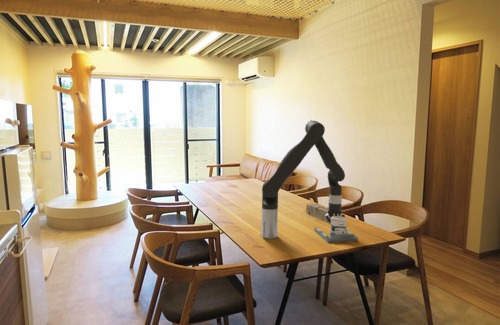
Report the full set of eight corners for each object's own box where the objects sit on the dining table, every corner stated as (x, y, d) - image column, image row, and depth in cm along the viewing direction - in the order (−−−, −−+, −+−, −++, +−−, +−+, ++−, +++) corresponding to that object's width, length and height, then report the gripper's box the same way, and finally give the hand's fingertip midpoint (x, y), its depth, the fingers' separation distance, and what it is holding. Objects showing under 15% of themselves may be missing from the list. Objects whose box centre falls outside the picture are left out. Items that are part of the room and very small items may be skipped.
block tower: (305, 214, 248) (330, 224, 221) (305, 203, 247) (330, 211, 221) (313, 213, 251) (339, 222, 225) (314, 202, 250) (339, 210, 224)
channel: (327, 242, 188) (327, 235, 187) (314, 230, 208) (314, 224, 208) (357, 241, 191) (357, 234, 190) (341, 229, 211) (341, 223, 211)
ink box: (329, 236, 197) (330, 217, 195) (331, 234, 201) (332, 215, 200) (344, 239, 193) (345, 219, 192) (346, 236, 198) (347, 217, 196)
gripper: (327, 203, 195) (325, 232, 197) (348, 203, 197) (347, 231, 199) (322, 200, 202) (321, 228, 205) (342, 200, 205) (341, 227, 207)
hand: (333, 229), depth 202 cm, fingers closed
